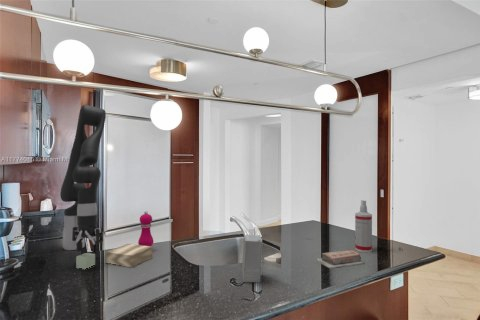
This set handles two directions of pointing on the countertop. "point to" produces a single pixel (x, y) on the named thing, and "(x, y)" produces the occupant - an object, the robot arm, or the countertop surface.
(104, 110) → the robot arm
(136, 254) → the pedestal
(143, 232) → the pepper mill
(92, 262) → the cube
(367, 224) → the spray bottle
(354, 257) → the soap bar on dish
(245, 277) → the skincare box
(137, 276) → the countertop surface
